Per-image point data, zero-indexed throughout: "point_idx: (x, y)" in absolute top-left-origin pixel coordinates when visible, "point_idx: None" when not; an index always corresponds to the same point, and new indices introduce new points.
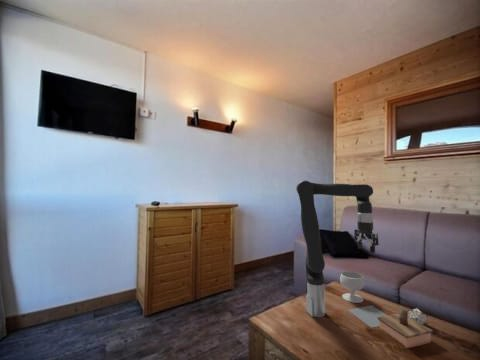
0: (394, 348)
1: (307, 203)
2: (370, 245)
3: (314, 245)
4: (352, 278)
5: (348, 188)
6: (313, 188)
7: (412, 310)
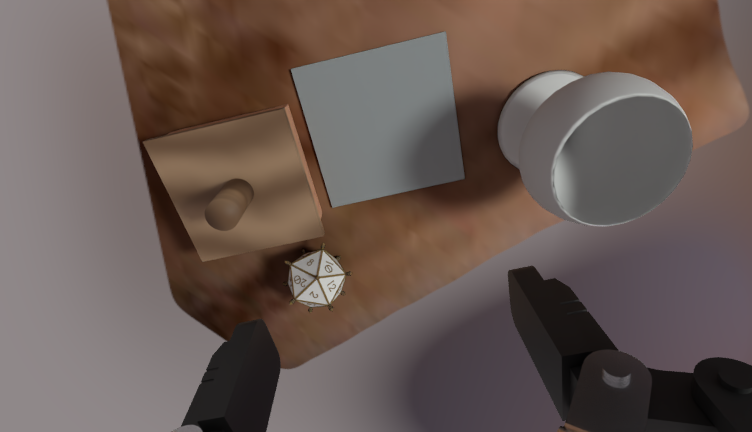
0: (163, 83)
1: None
2: (201, 429)
3: None
4: (565, 138)
5: None
6: None
7: (313, 279)
